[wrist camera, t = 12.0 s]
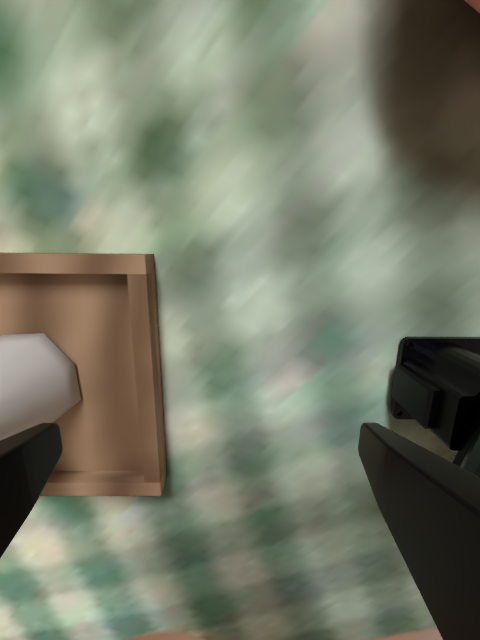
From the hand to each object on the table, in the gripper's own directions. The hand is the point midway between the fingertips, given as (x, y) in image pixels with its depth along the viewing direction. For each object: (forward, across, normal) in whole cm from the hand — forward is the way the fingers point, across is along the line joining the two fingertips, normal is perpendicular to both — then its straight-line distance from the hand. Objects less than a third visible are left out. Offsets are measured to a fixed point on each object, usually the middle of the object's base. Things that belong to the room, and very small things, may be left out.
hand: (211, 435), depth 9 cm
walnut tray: (+13, +14, +4) cm, 20 cm away
